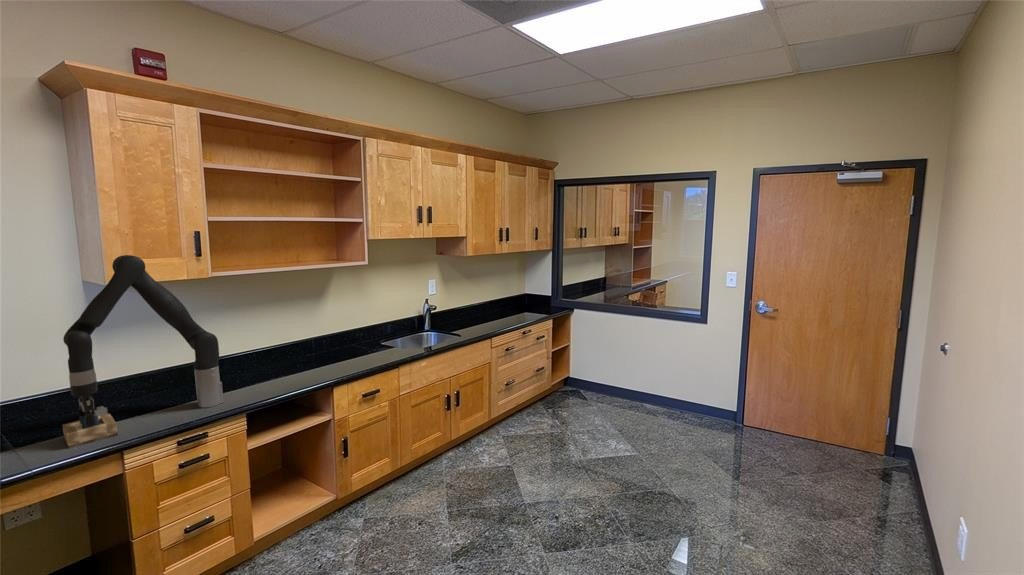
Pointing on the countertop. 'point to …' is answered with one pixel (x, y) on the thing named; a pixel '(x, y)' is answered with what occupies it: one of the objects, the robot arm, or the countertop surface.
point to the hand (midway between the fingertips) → (89, 422)
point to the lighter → (101, 411)
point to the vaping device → (83, 419)
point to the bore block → (89, 431)
